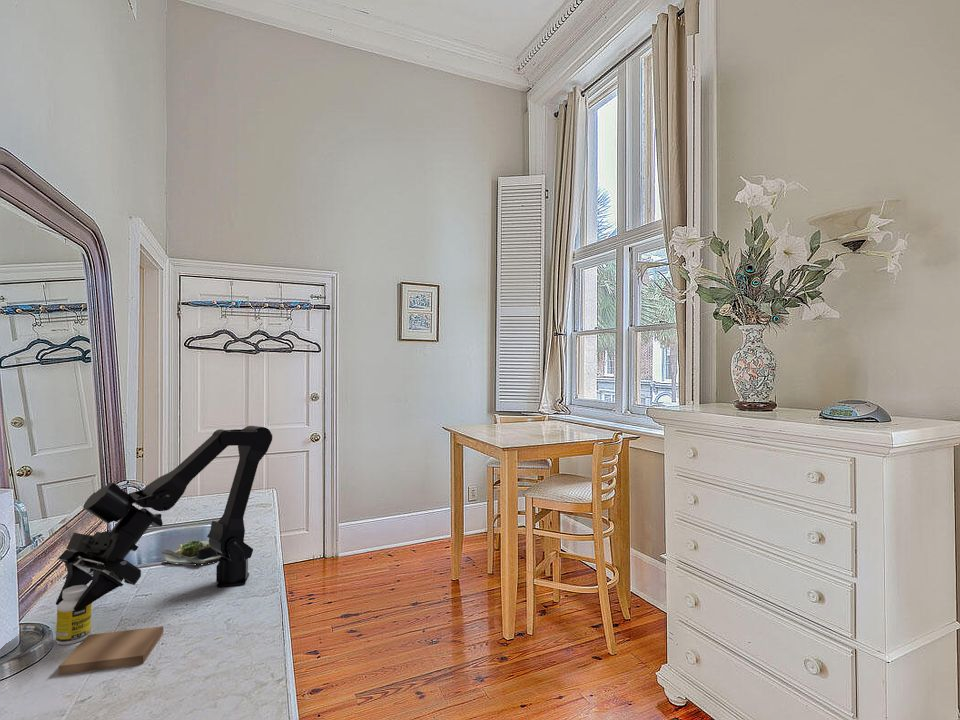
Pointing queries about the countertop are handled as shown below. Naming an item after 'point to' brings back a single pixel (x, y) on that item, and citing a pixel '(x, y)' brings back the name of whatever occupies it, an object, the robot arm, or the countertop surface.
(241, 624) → the countertop surface
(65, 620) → the supplement bottle
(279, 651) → the countertop surface
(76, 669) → the serving board
